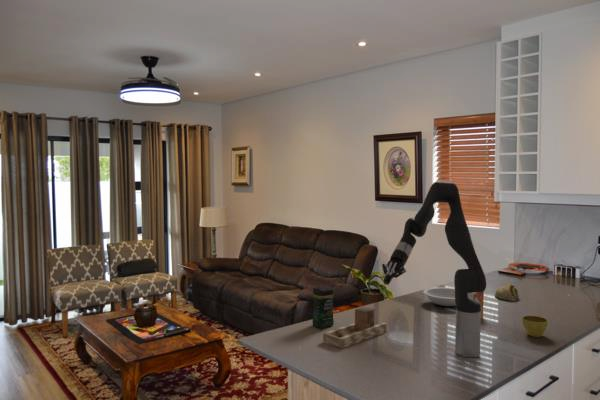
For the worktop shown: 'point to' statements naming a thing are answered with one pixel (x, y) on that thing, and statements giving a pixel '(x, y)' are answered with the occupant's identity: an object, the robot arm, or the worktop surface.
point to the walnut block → (364, 318)
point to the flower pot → (534, 325)
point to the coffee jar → (323, 306)
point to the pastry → (507, 293)
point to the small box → (477, 299)
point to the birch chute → (351, 335)
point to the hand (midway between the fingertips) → (385, 283)
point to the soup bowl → (441, 296)
